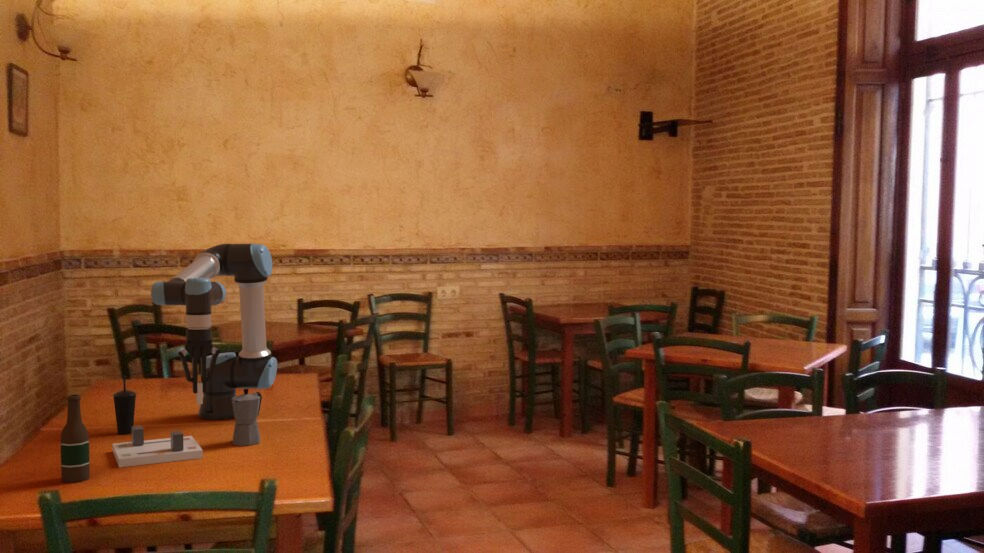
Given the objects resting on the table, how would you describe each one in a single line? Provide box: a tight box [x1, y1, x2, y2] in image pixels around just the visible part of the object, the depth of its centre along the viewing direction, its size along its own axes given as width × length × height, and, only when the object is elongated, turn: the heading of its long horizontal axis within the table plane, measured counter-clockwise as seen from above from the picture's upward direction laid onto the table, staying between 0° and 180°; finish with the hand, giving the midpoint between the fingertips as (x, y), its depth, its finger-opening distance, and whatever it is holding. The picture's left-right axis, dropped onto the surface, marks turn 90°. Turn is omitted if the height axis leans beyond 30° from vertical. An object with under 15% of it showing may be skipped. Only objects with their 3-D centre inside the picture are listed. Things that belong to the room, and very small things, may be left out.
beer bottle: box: [60, 393, 91, 484], centre depth 254 cm, size 8×8×24 cm
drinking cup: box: [112, 374, 138, 436], centre depth 307 cm, size 8×8×20 cm
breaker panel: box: [112, 435, 204, 469], centre depth 281 cm, size 24×20×3 cm
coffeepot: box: [231, 388, 263, 447], centre depth 297 cm, size 15×9×18 cm, turn 162°
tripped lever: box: [170, 429, 184, 451], centre depth 277 cm, size 3×5×5 cm, turn 27°
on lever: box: [131, 425, 145, 446], centre depth 283 cm, size 3×5×5 cm, turn 27°
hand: (199, 403), depth 280 cm, fingers closed
